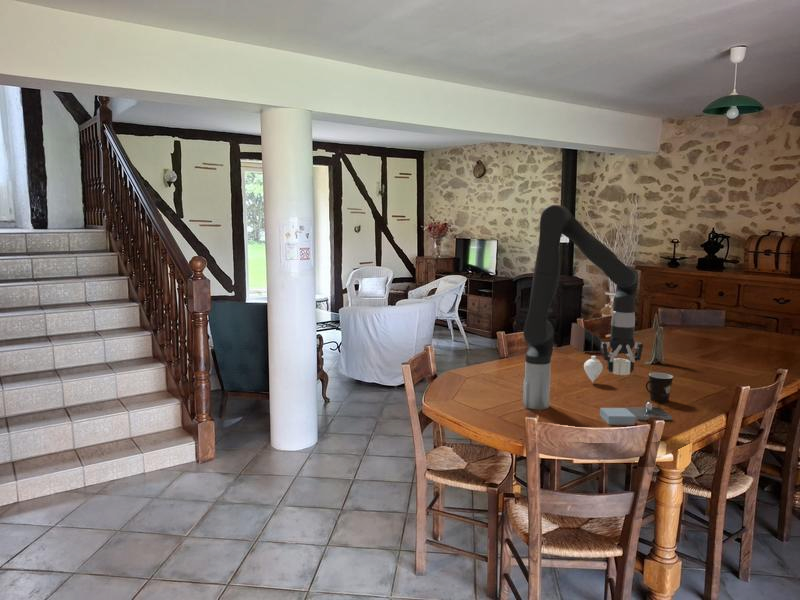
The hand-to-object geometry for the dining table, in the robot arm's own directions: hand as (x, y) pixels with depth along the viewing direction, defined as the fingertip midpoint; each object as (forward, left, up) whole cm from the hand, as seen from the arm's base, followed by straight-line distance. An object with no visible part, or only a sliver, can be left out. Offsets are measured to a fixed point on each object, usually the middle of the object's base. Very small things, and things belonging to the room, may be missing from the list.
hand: (620, 371), depth 197 cm
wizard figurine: (+48, +83, -18) cm, 97 cm away
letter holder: (+23, +115, -18) cm, 118 cm away
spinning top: (+6, +47, -18) cm, 50 cm away
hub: (+13, +5, -17) cm, 22 cm away
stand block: (0, 0, -17) cm, 17 cm away
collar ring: (0, 0, 0) cm, 0 cm away
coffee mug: (+23, +23, -18) cm, 37 cm away
